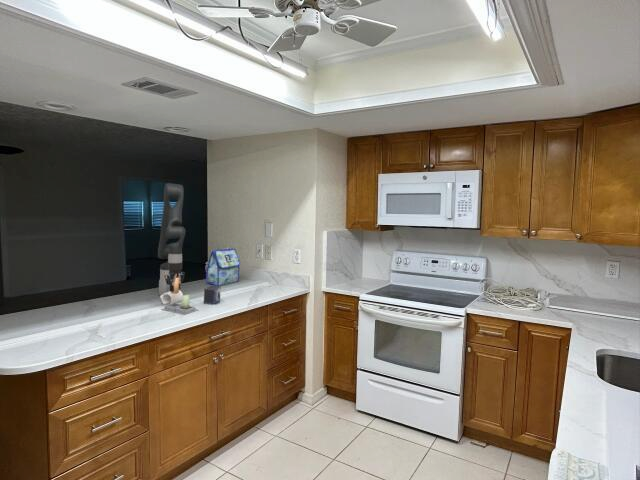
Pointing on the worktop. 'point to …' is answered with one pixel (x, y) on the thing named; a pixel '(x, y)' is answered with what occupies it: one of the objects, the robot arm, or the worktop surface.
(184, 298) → the jaw peg olive
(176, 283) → the jaw peg orange
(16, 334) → the worktop surface
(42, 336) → the worktop surface
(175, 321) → the worktop surface
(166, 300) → the mug
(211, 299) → the small box
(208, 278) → the lunch bag
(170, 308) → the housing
